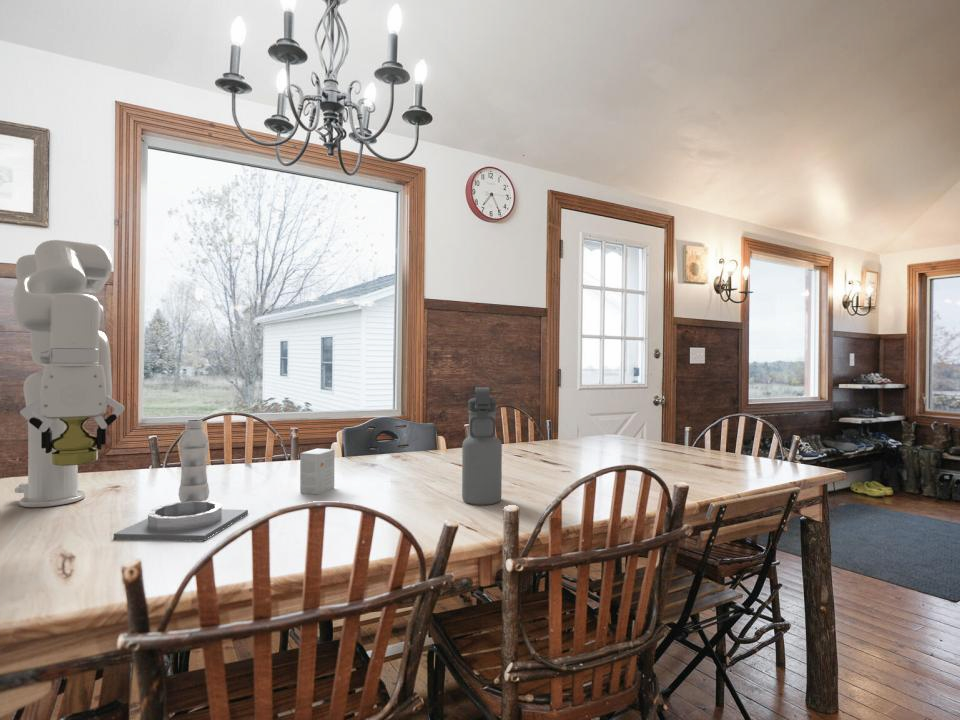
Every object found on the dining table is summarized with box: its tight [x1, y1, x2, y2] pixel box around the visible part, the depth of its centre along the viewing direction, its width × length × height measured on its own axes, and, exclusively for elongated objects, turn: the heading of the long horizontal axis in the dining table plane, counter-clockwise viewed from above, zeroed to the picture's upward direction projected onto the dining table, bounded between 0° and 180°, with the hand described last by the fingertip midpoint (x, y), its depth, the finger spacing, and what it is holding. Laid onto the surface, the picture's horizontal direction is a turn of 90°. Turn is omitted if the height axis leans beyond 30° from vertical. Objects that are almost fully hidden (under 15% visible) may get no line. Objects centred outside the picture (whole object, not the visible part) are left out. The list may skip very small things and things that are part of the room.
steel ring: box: [147, 500, 223, 531], centre depth 115 cm, size 13×13×2 cm
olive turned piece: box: [51, 417, 99, 466], centre depth 106 cm, size 7×7×10 cm
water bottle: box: [461, 386, 503, 506], centre depth 137 cm, size 10×10×28 cm
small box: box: [299, 448, 335, 495], centre depth 147 cm, size 8×6×10 cm
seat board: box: [113, 508, 249, 542], centre depth 115 cm, size 18×18×1 cm
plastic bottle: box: [178, 419, 210, 502], centre depth 133 cm, size 6×7×20 cm
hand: (74, 449), depth 106 cm, fingers closed on olive turned piece, 7 cm apart
